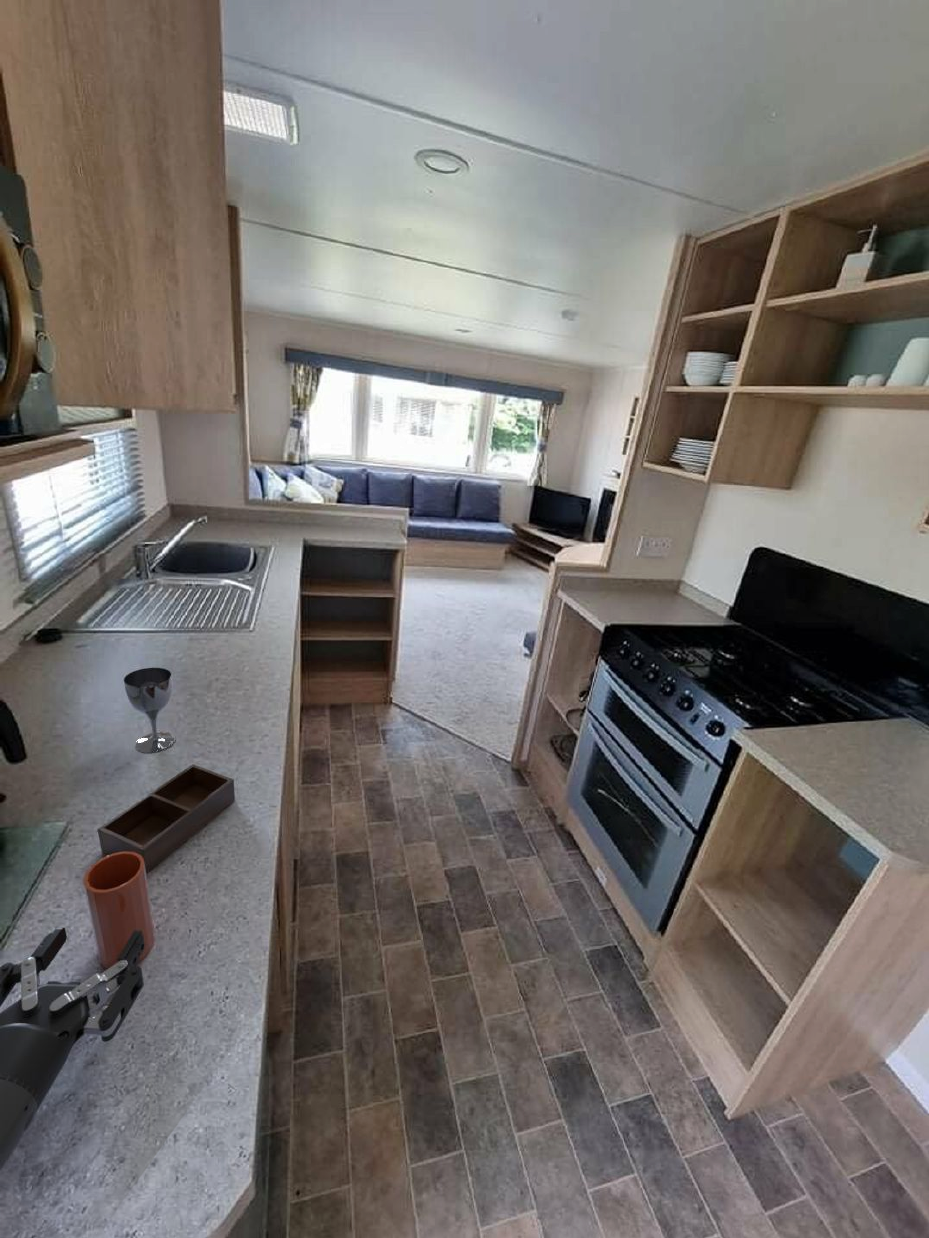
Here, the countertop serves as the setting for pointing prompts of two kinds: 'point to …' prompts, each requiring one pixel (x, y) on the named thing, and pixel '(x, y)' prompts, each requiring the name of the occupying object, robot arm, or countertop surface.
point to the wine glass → (150, 702)
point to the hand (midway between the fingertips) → (101, 933)
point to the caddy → (168, 815)
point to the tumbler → (118, 904)
